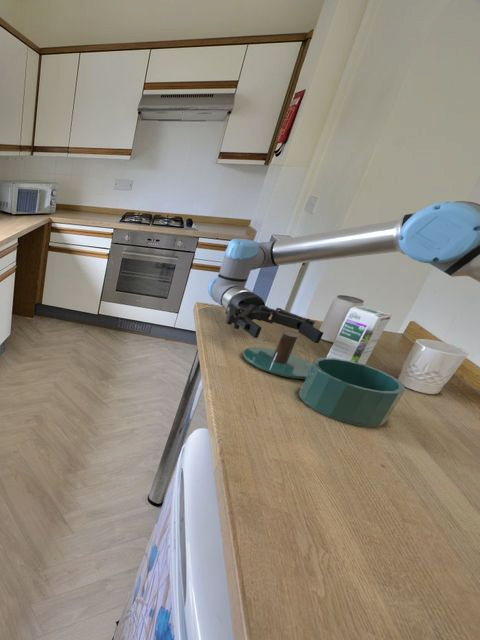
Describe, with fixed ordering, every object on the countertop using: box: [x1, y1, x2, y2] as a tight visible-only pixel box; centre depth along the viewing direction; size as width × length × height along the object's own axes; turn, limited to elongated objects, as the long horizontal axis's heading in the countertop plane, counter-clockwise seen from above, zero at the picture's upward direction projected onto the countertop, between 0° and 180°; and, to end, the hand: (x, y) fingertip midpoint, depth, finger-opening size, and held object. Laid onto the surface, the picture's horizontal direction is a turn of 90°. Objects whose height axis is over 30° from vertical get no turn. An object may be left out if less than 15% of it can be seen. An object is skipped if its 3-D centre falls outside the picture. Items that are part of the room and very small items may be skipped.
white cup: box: [396, 338, 469, 395], centre depth 90 cm, size 8×8×10 cm
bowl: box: [298, 357, 406, 428], centre depth 81 cm, size 14×14×8 cm
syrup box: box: [325, 305, 393, 365], centre depth 96 cm, size 6×6×14 cm
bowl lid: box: [242, 331, 312, 380], centre depth 96 cm, size 15×15×8 cm
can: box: [318, 294, 365, 344], centre depth 112 cm, size 6×6×12 cm
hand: (288, 335), depth 95 cm, fingers open, 13 cm apart
